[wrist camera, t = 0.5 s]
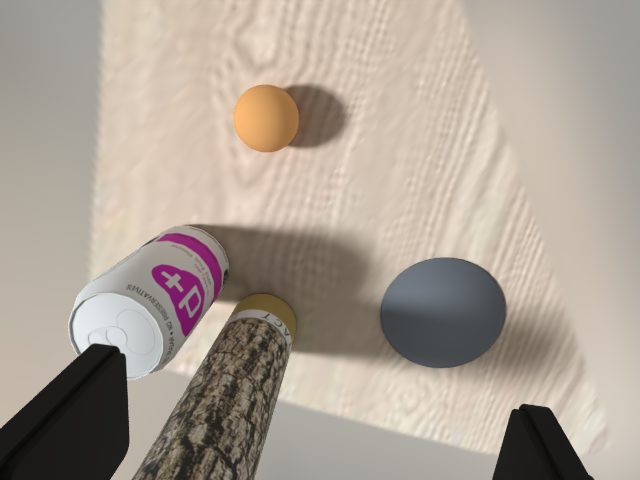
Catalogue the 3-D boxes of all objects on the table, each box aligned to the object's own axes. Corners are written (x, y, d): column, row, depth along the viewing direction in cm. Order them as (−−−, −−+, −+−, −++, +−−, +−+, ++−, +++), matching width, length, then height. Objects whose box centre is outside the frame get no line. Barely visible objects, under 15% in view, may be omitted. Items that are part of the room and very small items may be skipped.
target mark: (356, 305, 46) (356, 306, 46) (455, 233, 43) (455, 233, 43) (429, 386, 48) (429, 388, 48) (529, 323, 45) (529, 324, 45)
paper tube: (247, 356, 49) (139, 600, 26) (223, 300, 48) (82, 508, 24) (306, 340, 48) (250, 582, 24) (284, 283, 46) (199, 484, 23)
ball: (230, 114, 42) (211, 117, 36) (274, 71, 40) (260, 68, 35) (271, 160, 43) (258, 170, 37) (315, 120, 41) (308, 125, 36)
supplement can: (215, 214, 45) (145, 272, 31) (241, 290, 47) (188, 377, 33) (140, 234, 46) (40, 297, 32) (169, 306, 48) (88, 396, 34)
